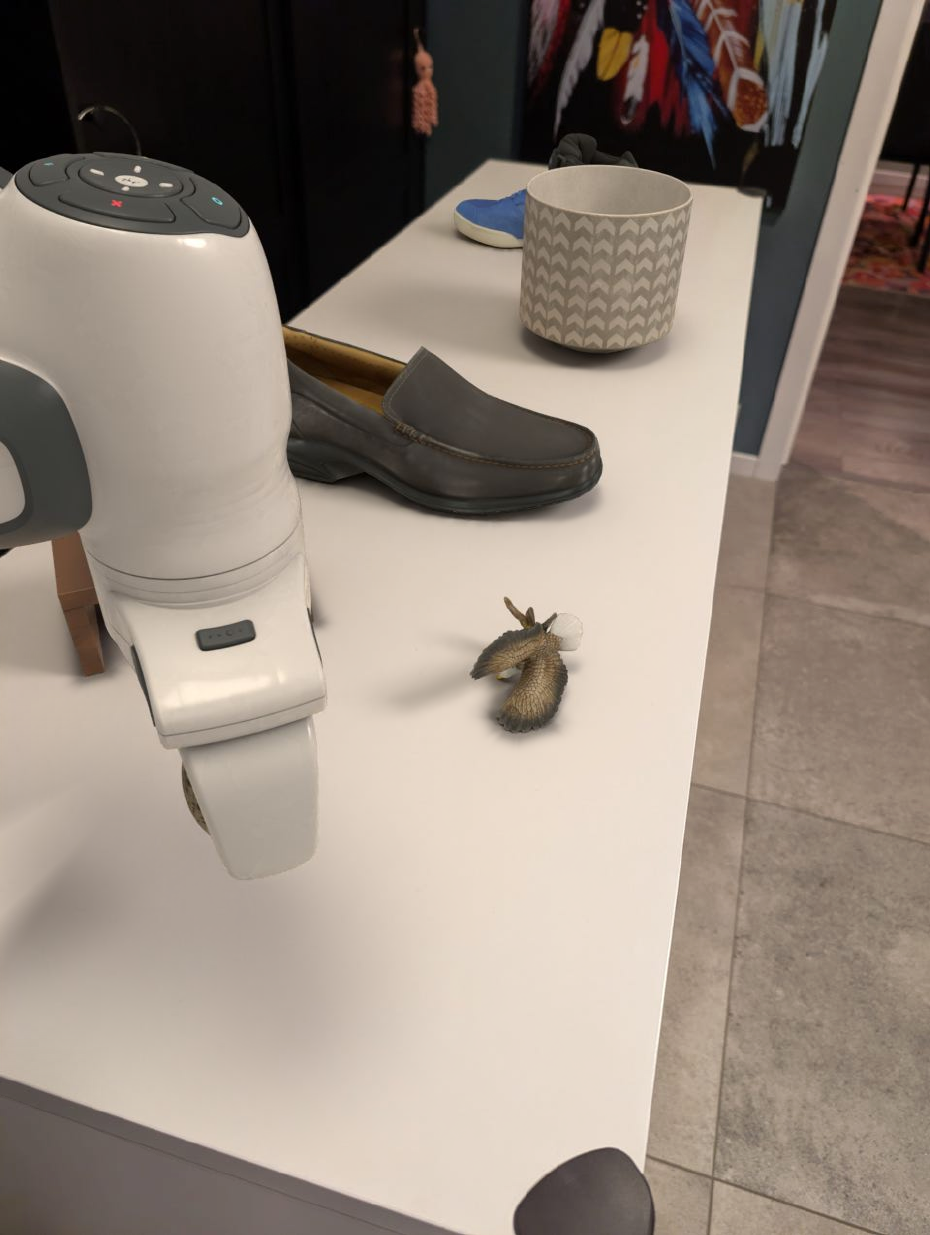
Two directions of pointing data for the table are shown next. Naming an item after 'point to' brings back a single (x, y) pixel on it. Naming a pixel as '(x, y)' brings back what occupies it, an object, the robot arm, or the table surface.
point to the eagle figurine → (531, 666)
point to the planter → (603, 255)
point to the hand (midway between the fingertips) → (242, 782)
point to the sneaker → (506, 216)
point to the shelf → (79, 600)
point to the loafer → (427, 432)
